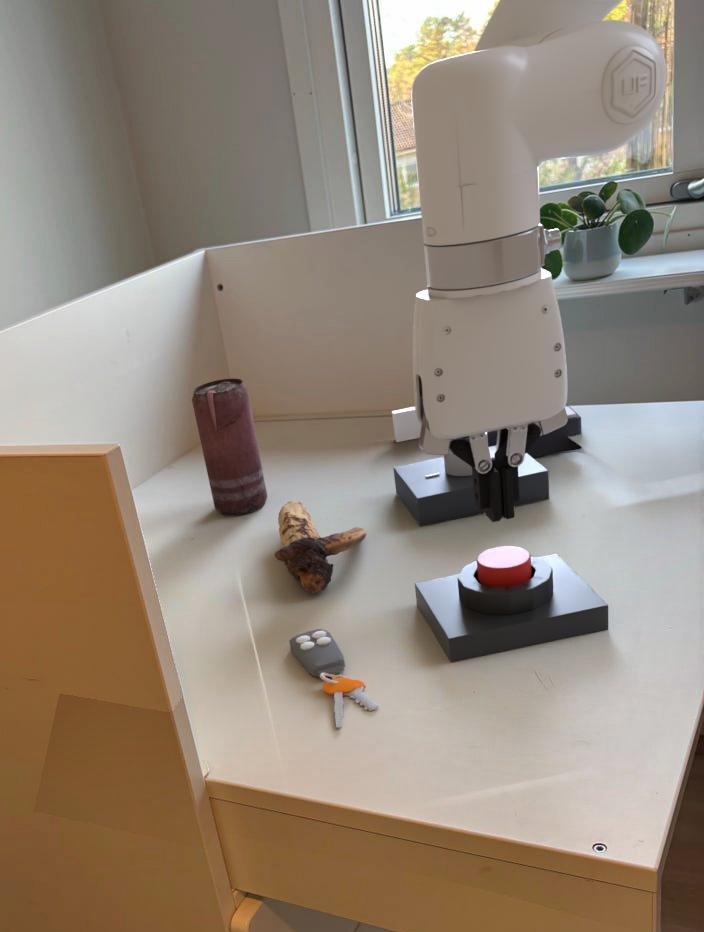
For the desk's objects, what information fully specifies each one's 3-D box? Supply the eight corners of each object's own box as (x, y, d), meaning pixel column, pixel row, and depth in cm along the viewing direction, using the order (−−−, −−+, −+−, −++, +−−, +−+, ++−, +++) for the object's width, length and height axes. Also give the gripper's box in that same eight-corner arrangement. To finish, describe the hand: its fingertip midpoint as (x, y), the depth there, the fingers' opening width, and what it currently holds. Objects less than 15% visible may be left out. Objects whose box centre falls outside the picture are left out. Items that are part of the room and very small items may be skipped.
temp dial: (440, 466, 100) (436, 431, 98) (481, 457, 100) (479, 421, 98) (452, 479, 96) (449, 443, 94) (495, 470, 96) (493, 433, 94)
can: (211, 520, 107) (185, 398, 101) (219, 499, 113) (195, 381, 106) (265, 513, 106) (241, 388, 99) (270, 492, 111) (248, 373, 105)
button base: (557, 576, 81) (555, 533, 79) (608, 630, 72) (608, 583, 70) (416, 606, 81) (412, 563, 79) (451, 663, 72) (446, 617, 70)
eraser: (435, 434, 118) (433, 405, 116) (396, 442, 118) (393, 413, 116) (433, 431, 119) (430, 403, 117) (394, 439, 119) (391, 411, 118)
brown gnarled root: (386, 591, 85) (354, 514, 101) (383, 543, 83) (350, 472, 98) (283, 608, 86) (266, 528, 101) (276, 560, 83) (260, 487, 99)
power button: (520, 561, 76) (519, 541, 76) (539, 582, 73) (538, 561, 72) (471, 572, 76) (469, 552, 76) (487, 593, 73) (486, 572, 72)
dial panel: (514, 468, 103) (513, 440, 102) (549, 499, 95) (548, 468, 93) (396, 493, 104) (392, 465, 102) (420, 526, 95) (417, 497, 93)
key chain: (285, 650, 79) (282, 635, 78) (328, 638, 79) (325, 622, 78) (337, 732, 67) (334, 714, 67) (387, 717, 68) (384, 699, 67)
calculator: (550, 381, 115) (581, 410, 102) (551, 416, 117) (583, 449, 104) (457, 397, 117) (476, 427, 104) (460, 431, 119) (479, 465, 105)
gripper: (570, 234, 68) (574, 478, 76) (362, 278, 68) (390, 517, 77) (616, 245, 61) (615, 511, 70) (386, 294, 62) (413, 553, 70)
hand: (497, 513), depth 73 cm, fingers closed
